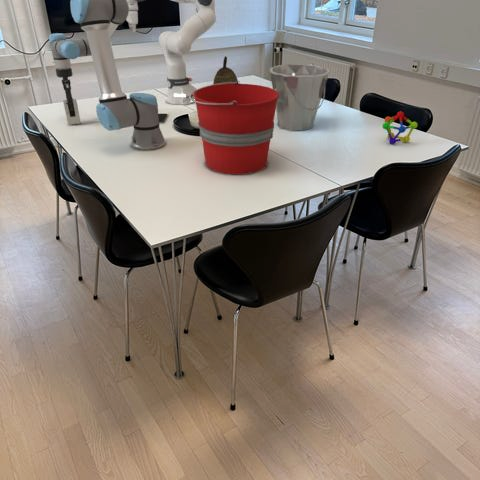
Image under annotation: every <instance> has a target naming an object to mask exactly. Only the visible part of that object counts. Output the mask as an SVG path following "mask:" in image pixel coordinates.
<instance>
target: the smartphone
mask: <svg viewBox="0 0 480 480" xmlns="http://www.w3.org/2000/svg"><path fill="white" fill-rule="evenodd" d="M168 116H169V114H168V113H158V117H159V124H164V123H165V121H166V120H167V117H168Z"/></svg>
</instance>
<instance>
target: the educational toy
mask: <svg viewBox="0 0 480 480" xmlns="http://www.w3.org/2000/svg"><path fill="white" fill-rule="evenodd" d="M397 119H399V124H400V125H399V127H398V126H393V125H391V124H392V123H394V122H395V121H396V120H397ZM403 120H404V121H405V122H407V123H408V124H409V125H407V126H404V123H403ZM417 127H418V122H417V121H411V120H410V119H409V118H408V117H406V116H405V113H404V112H403V111H401V110H400V111H398V112H397V114H396V115H394V116H391V117H390V116H386V117H385V118H384V122H383V123H382V129H383V130H386V132H387V138H388V142H389V145H395V144H396V143H397V142H402V141H403V142H404V143H409V142H410V140H411V138H410V136H411V134H412V132H413V131H414V130H415V129H417ZM392 129H393V130H397V131H398V132H396V134H395V133H394V132H392ZM408 129H409V131H408V133H407V134H406V135H404V136H401V134H403V133H405V132H406V130H408ZM399 135H400V136H399Z"/></svg>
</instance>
